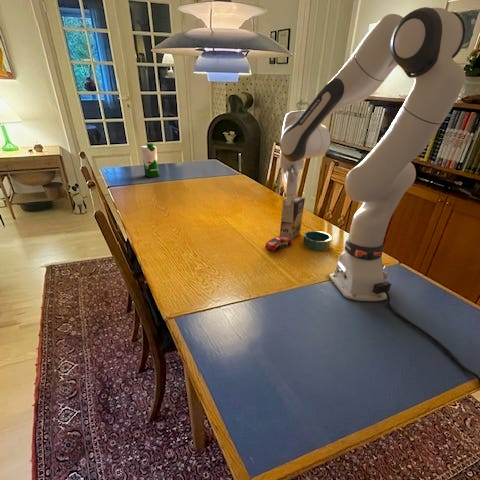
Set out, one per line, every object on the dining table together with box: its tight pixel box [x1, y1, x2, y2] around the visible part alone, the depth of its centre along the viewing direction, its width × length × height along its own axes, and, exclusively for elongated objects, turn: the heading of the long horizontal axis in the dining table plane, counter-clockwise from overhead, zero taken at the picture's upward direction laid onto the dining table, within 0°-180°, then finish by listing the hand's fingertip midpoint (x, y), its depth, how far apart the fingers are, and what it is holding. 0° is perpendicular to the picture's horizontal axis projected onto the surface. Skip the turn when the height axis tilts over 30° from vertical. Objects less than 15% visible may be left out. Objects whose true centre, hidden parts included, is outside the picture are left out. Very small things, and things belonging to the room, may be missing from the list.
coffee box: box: [278, 195, 306, 241], centre depth 148 cm, size 9×6×16 cm
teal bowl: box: [302, 230, 332, 252], centre depth 143 cm, size 11×11×4 cm
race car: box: [264, 236, 292, 252], centre depth 142 cm, size 13×5×4 cm, turn 133°
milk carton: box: [140, 142, 160, 178], centre depth 227 cm, size 9×9×20 cm
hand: (286, 200), depth 132 cm, fingers open, 8 cm apart
